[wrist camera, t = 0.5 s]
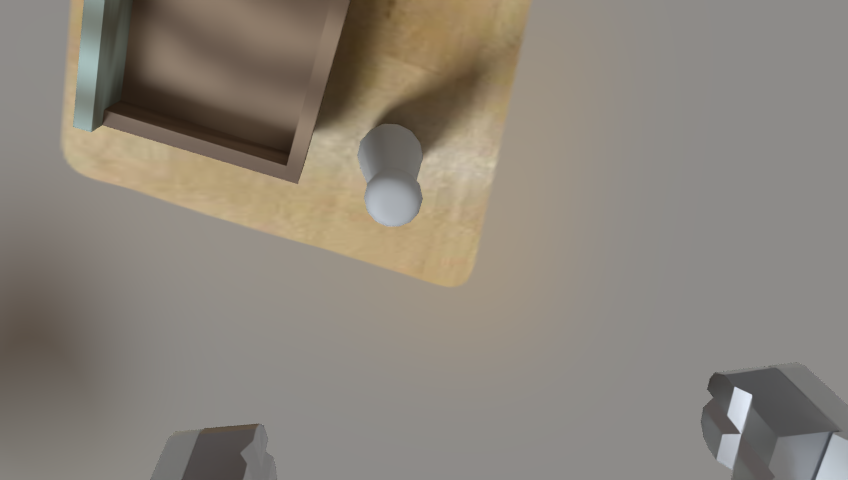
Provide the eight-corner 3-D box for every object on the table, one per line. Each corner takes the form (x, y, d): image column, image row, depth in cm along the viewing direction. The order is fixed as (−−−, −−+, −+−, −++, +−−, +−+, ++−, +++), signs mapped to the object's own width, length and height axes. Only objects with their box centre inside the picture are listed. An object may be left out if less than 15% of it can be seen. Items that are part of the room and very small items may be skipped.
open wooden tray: (150, -110, 40) (94, -124, 32) (359, -26, 44) (355, -21, 36) (124, 96, 47) (73, 126, 39) (307, 154, 51) (294, 192, 43)
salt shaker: (345, 141, 51) (336, 197, 39) (395, 104, 49) (401, 150, 38) (384, 187, 53) (386, 253, 42) (432, 153, 52) (448, 211, 40)
